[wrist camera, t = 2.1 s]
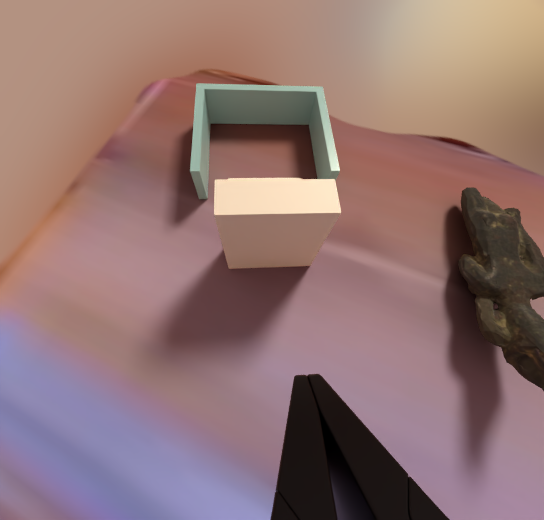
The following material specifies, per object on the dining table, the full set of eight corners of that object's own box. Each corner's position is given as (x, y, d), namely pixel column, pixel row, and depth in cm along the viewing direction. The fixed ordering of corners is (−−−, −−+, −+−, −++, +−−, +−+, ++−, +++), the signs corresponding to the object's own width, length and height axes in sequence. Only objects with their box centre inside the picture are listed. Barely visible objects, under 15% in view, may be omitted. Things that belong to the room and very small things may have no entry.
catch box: (327, 197, 26) (339, 170, 23) (199, 199, 25) (189, 171, 22) (314, 120, 31) (322, 86, 27) (203, 118, 29) (196, 83, 26)
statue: (430, 214, 30) (476, 406, 19) (455, 174, 25) (534, 396, 14) (489, 218, 29) (575, 424, 18) (526, 178, 24) (672, 420, 13)
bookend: (310, 265, 23) (341, 212, 15) (228, 268, 23) (214, 214, 14) (299, 182, 27) (320, 102, 19) (228, 183, 26) (217, 100, 18)
